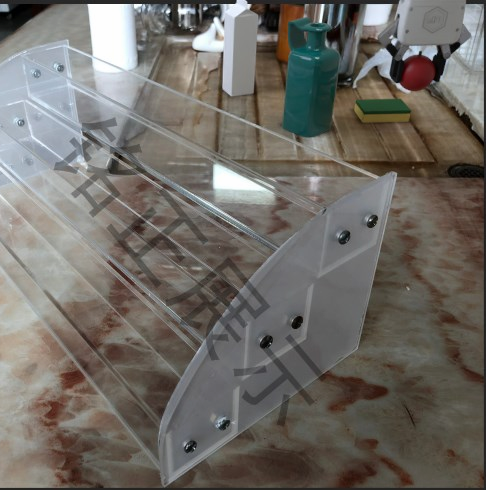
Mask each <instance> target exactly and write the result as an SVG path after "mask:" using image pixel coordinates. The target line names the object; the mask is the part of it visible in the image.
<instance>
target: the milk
mask: <svg viewBox="0 0 486 490" xmlns="http://www.w3.org/2000/svg"><path fill="white" fill-rule="evenodd" d="M223 22H224V24H223V57H222V58H223V59H222V88H221V89H222V90H223V91H224V92H225V93H227V95H229V96H230V97H238V96H245V95H253V94H254V93H255V79H256V61H257V46H258V45H257V44H258V28H259V14H257V13H256V12H254V11H252V10H250V9H249V8H248V1H247V0H236V2H235V4H233V5H232V6H231V7H230V8H228V9H227V10H225V11H224V21H223Z"/></svg>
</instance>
